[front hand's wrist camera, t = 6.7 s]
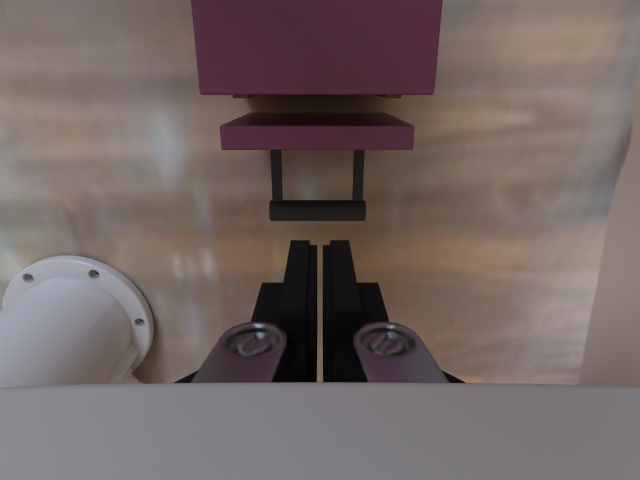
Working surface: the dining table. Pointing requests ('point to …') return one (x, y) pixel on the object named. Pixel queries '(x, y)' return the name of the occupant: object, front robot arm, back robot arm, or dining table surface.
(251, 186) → the dining table surface
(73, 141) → the dining table surface
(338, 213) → the drawer
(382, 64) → the cabinet
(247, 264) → the dining table surface
